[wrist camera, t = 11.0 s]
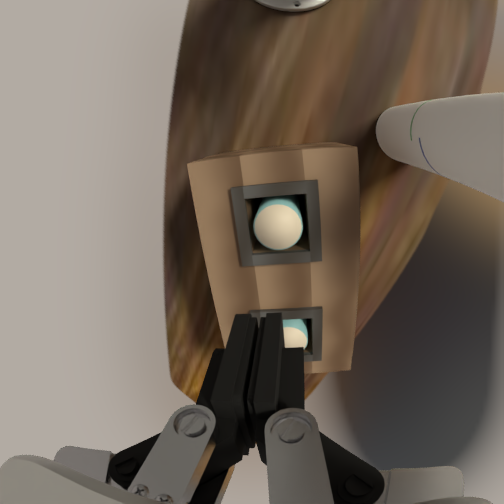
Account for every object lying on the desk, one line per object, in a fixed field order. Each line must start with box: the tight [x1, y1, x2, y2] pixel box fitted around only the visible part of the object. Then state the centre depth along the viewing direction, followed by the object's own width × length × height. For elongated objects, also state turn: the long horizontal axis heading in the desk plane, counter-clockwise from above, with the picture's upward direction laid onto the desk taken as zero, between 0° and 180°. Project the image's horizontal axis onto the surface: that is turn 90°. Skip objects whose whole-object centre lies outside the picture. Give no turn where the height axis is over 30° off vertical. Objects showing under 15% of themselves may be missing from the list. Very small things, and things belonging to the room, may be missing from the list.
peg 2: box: [283, 319, 308, 349], centre depth 33 cm, size 4×4×12 cm
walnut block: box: [187, 142, 360, 373], centre depth 32 cm, size 14×24×12 cm, turn 7°
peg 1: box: [253, 194, 303, 250], centre depth 29 cm, size 4×4×12 cm
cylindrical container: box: [376, 92, 504, 202], centre depth 18 cm, size 7×7×25 cm
